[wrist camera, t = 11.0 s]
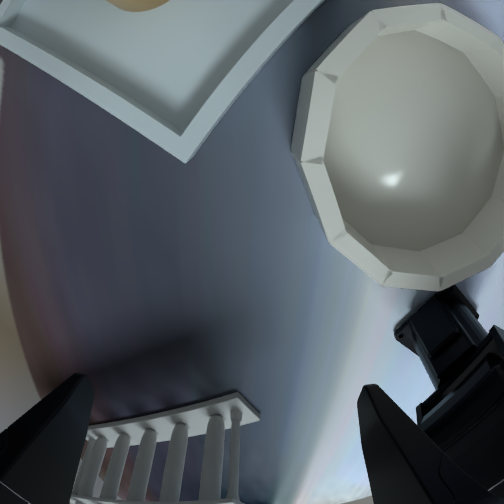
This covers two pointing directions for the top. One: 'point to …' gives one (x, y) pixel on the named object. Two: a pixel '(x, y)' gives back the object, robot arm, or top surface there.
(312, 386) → the top surface
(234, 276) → the top surface
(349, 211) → the ceramic dish
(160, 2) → the tan rounded cylinder
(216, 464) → the test tube rack
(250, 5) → the grey tray
